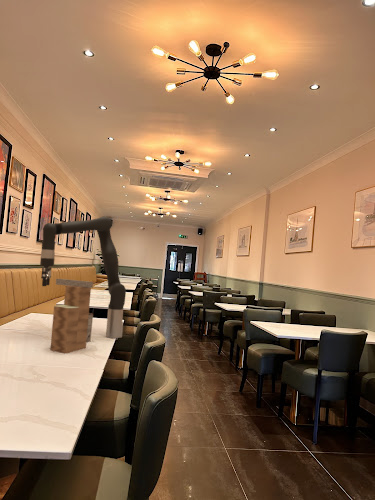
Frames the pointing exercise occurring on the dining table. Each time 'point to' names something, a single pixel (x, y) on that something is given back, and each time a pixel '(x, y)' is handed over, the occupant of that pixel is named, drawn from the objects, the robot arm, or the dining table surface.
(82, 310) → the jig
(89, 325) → the coffee box
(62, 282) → the bar
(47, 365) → the dining table surface
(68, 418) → the dining table surface
